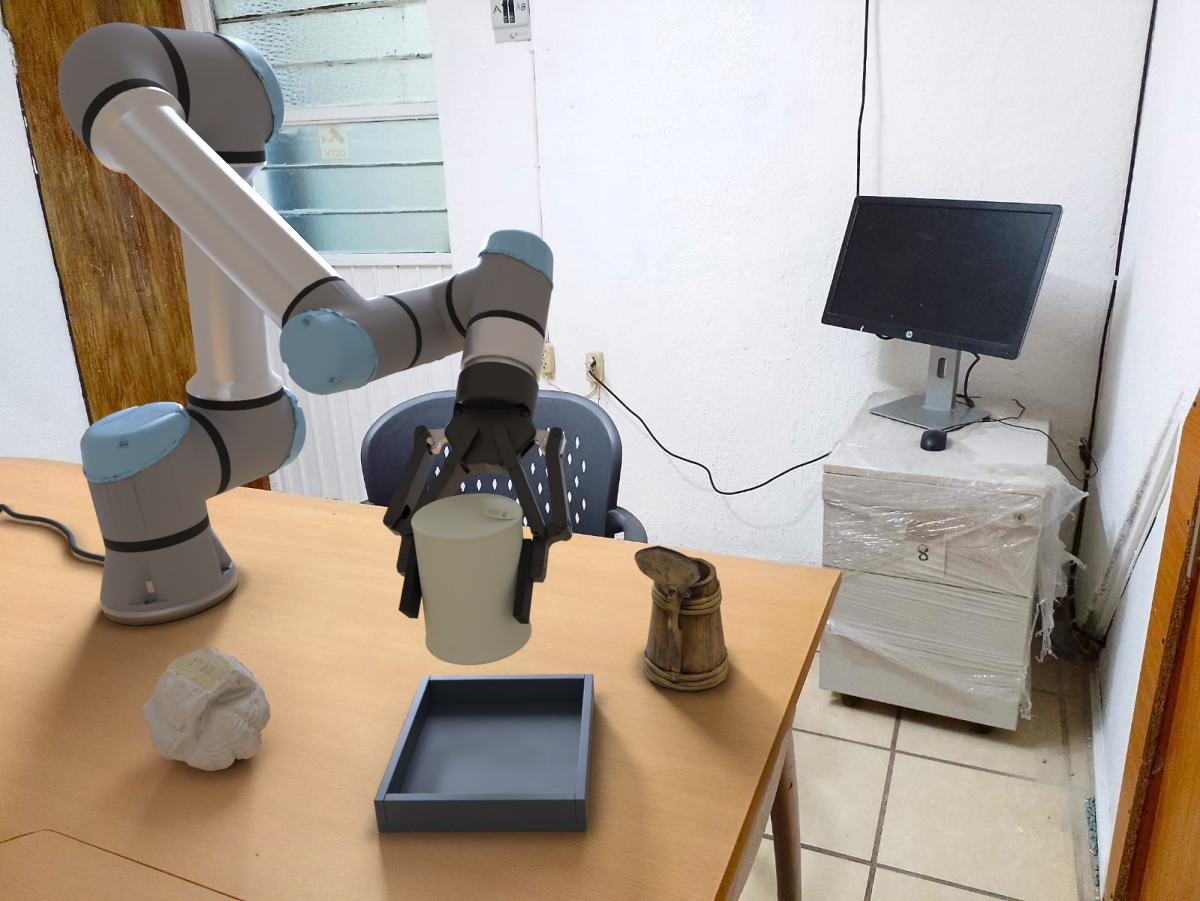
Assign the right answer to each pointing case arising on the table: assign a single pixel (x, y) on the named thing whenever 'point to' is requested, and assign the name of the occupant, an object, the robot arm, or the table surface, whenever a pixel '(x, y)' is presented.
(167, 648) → the table surface
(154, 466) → the robot arm
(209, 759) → the fossil replica
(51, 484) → the table surface
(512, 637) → the can
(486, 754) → the tray
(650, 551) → the wooden mug
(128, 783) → the table surface
